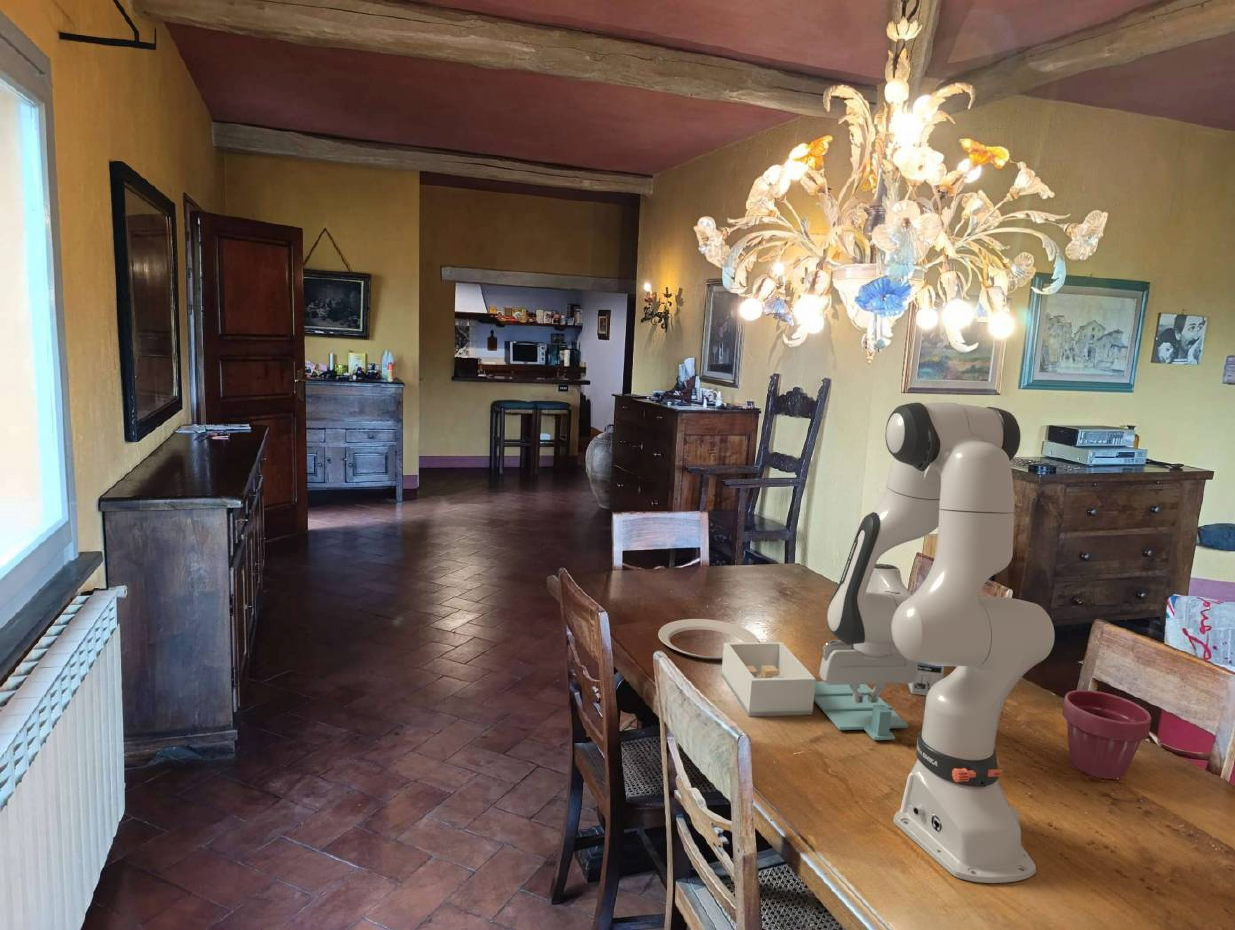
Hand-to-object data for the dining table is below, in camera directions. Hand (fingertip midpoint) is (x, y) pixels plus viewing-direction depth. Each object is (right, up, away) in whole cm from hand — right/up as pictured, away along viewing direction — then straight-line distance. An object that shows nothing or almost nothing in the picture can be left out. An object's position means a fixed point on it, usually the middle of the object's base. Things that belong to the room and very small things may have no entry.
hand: (864, 701), depth 170 cm
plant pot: (+41, -9, -13) cm, 44 cm away
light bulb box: (+19, -2, +19) cm, 27 cm away
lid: (-1, -4, +4) cm, 6 cm away
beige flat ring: (-29, +3, +38) cm, 48 cm away
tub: (-19, -1, +11) cm, 22 cm away
